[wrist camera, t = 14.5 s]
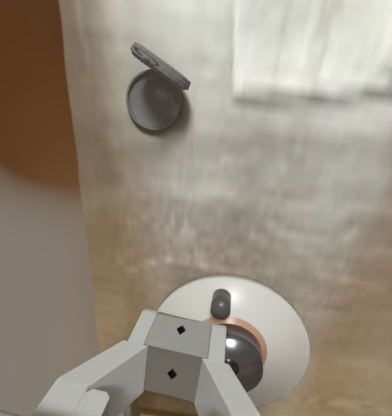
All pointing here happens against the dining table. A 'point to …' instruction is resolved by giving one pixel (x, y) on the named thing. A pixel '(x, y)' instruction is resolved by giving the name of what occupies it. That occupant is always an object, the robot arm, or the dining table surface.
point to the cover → (243, 356)
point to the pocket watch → (155, 91)
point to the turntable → (250, 325)
